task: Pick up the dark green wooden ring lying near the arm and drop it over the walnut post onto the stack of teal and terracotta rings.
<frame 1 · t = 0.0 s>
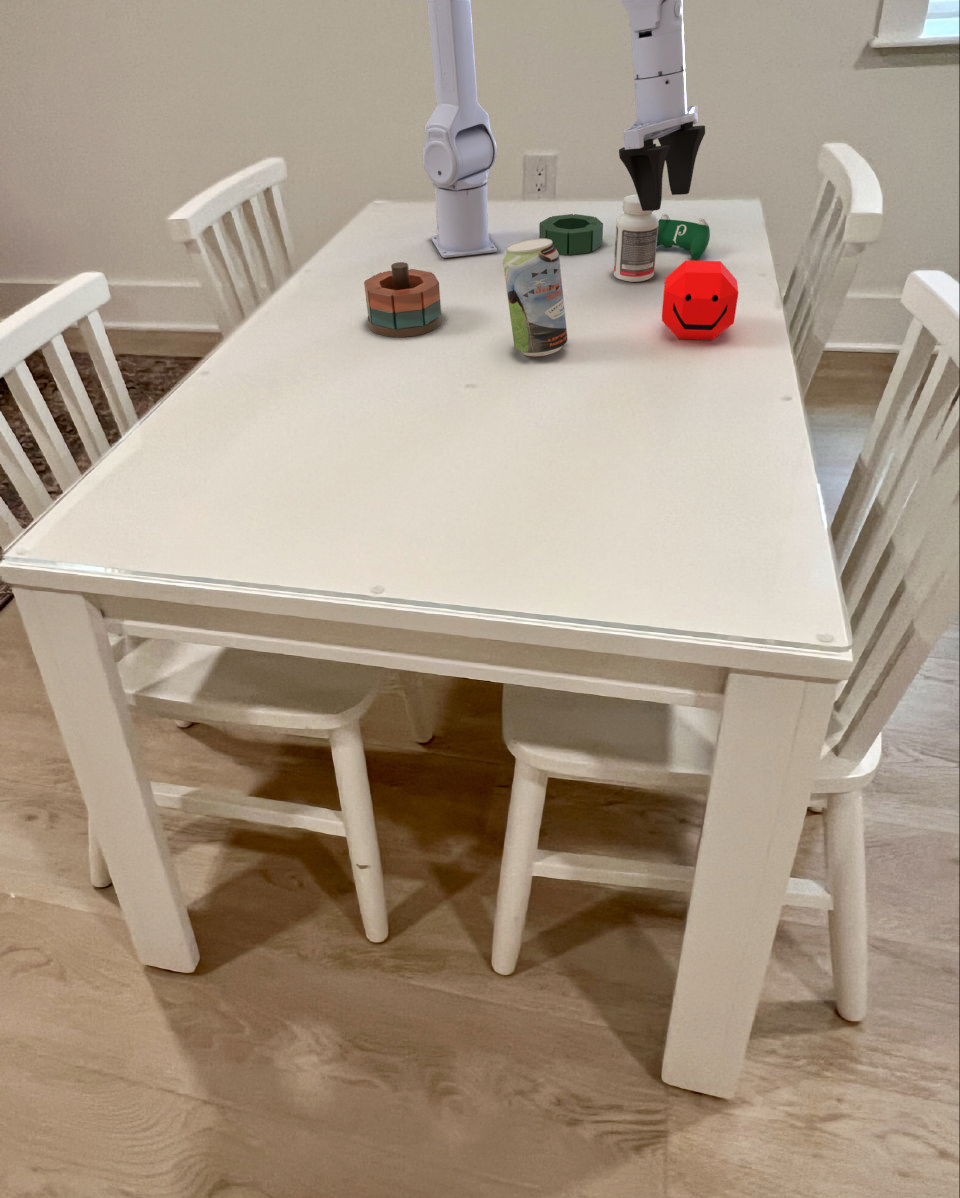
hand: (666, 201, 108), 11 cm above the table, tool pointing down, fingers open, 7 cm apart
beverage can: (536, 352, 101), on the table
ball: (695, 334, 104), on the table
gaming controller: (675, 253, 125), on the table
ring stack: (405, 322, 109), on the table
pill bottle: (633, 277, 119), on the table
green ring: (570, 244, 129), on the table
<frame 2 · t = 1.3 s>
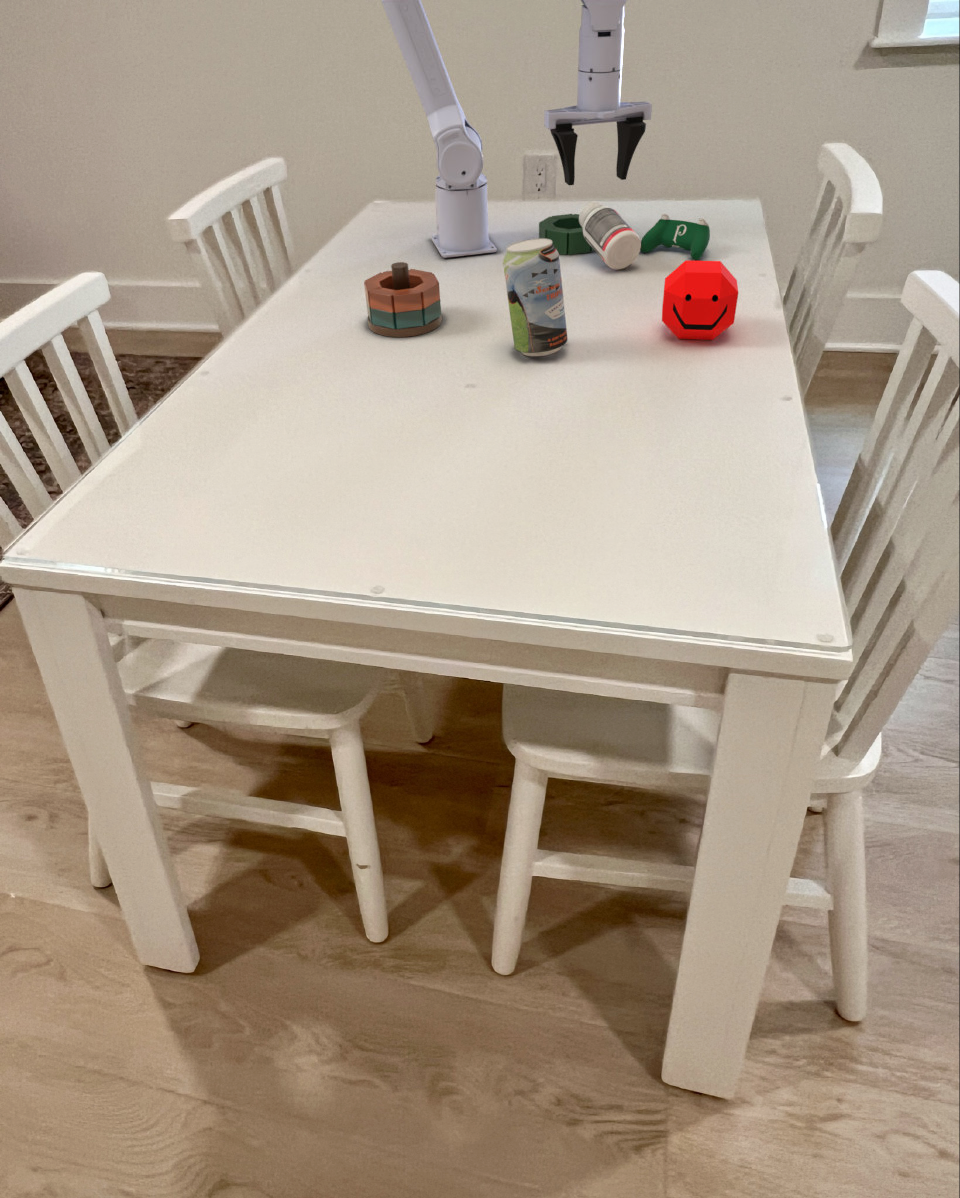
hand: (595, 180, 125), 8 cm above the table, tool pointing down, fingers open, 7 cm apart
pill bottle: (625, 253, 118), point 2 cm above the table, touching green ring
green ring: (570, 244, 129), on the table, touching pill bottle
everything else where it was.
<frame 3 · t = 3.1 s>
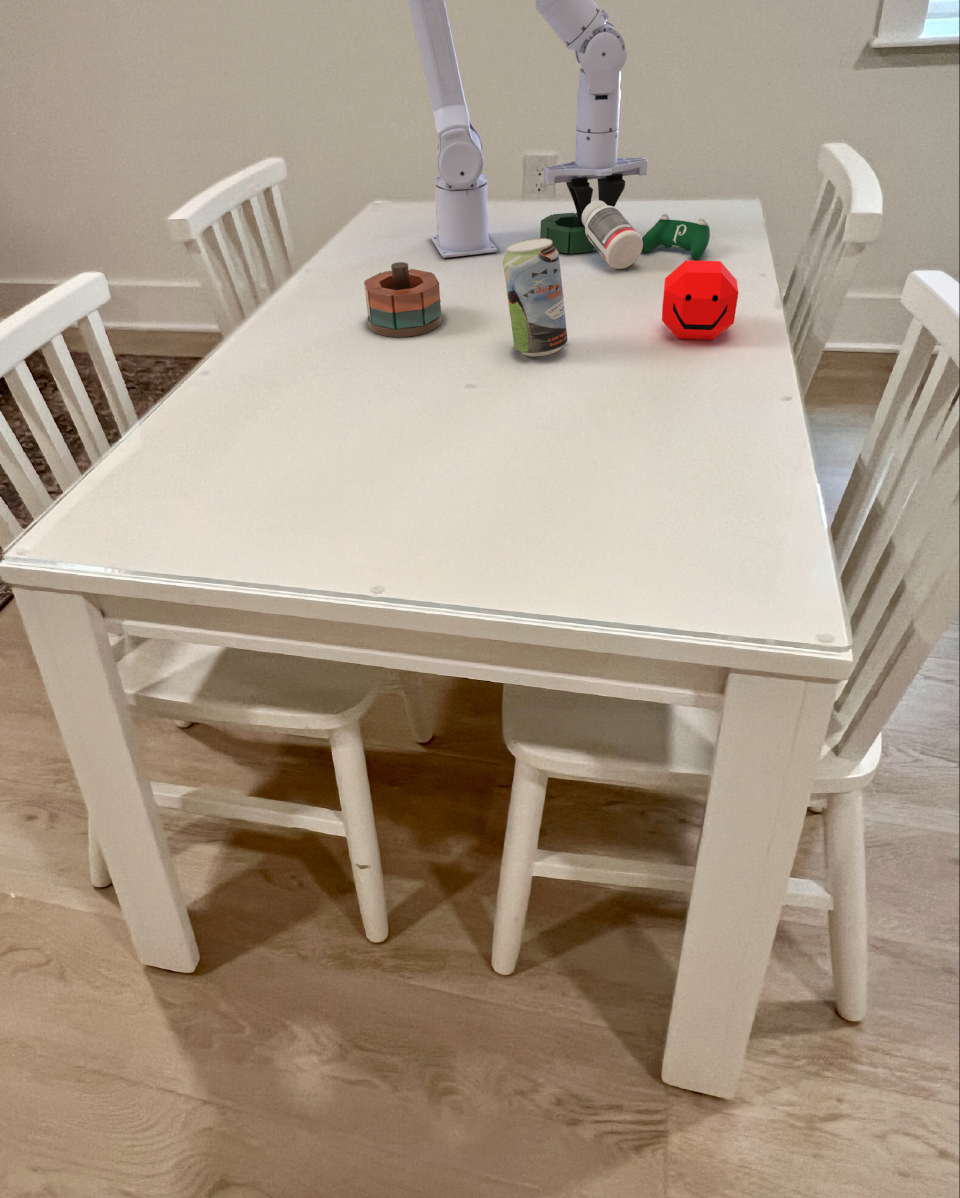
hand: (593, 232, 129), 1 cm above the table, tool pointing down, fingers closed on green ring, 2 cm apart
green ring: (571, 243, 129), on the table, touching gripper, pill bottle
everything else where it was.
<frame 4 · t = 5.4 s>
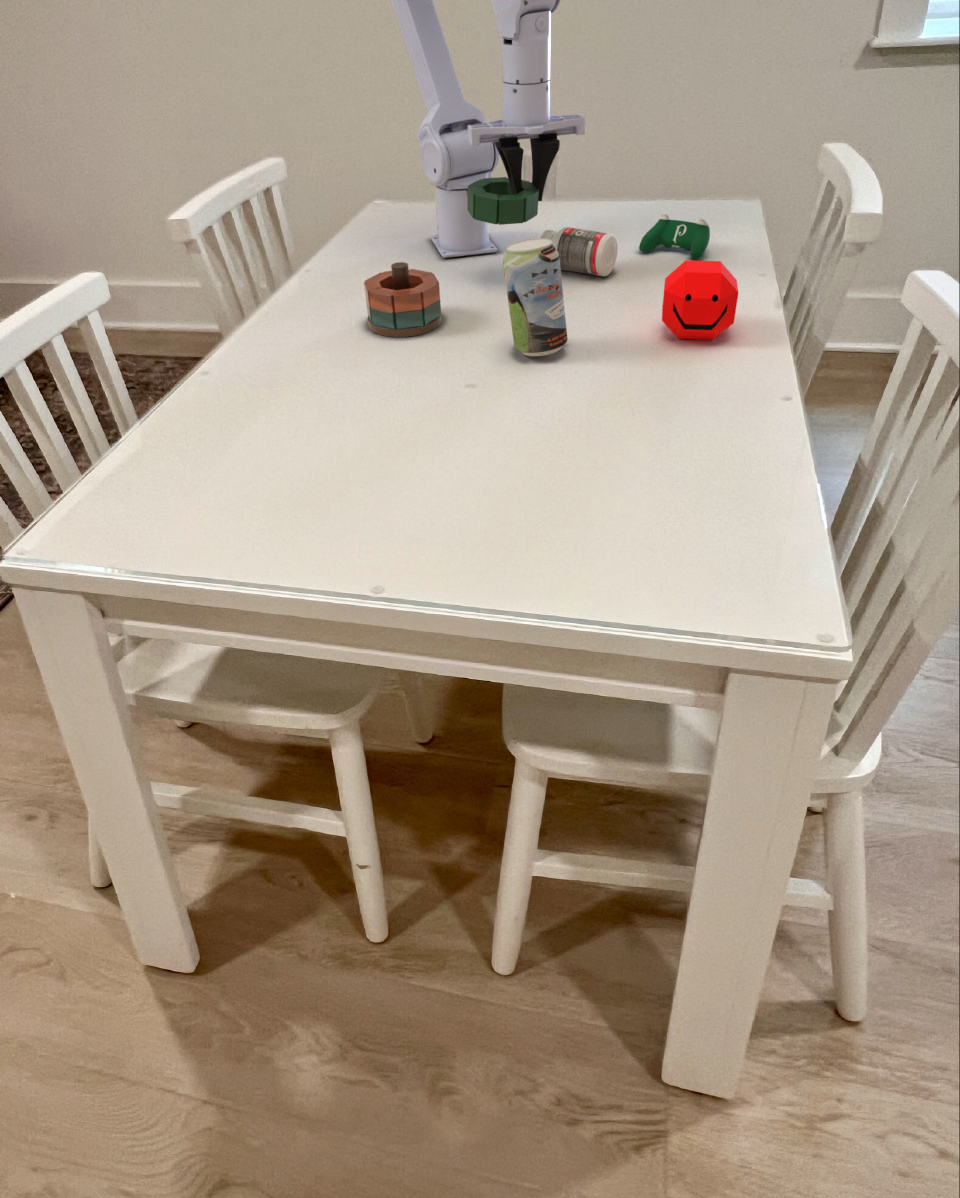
hand: (526, 200, 115), 9 cm above the table, tool pointing down, fingers closed on green ring
pill bottle: (611, 255, 117), point 3 cm above the table
green ring: (502, 212, 115), point 8 cm above the table, touching gripper
everything else where it was.
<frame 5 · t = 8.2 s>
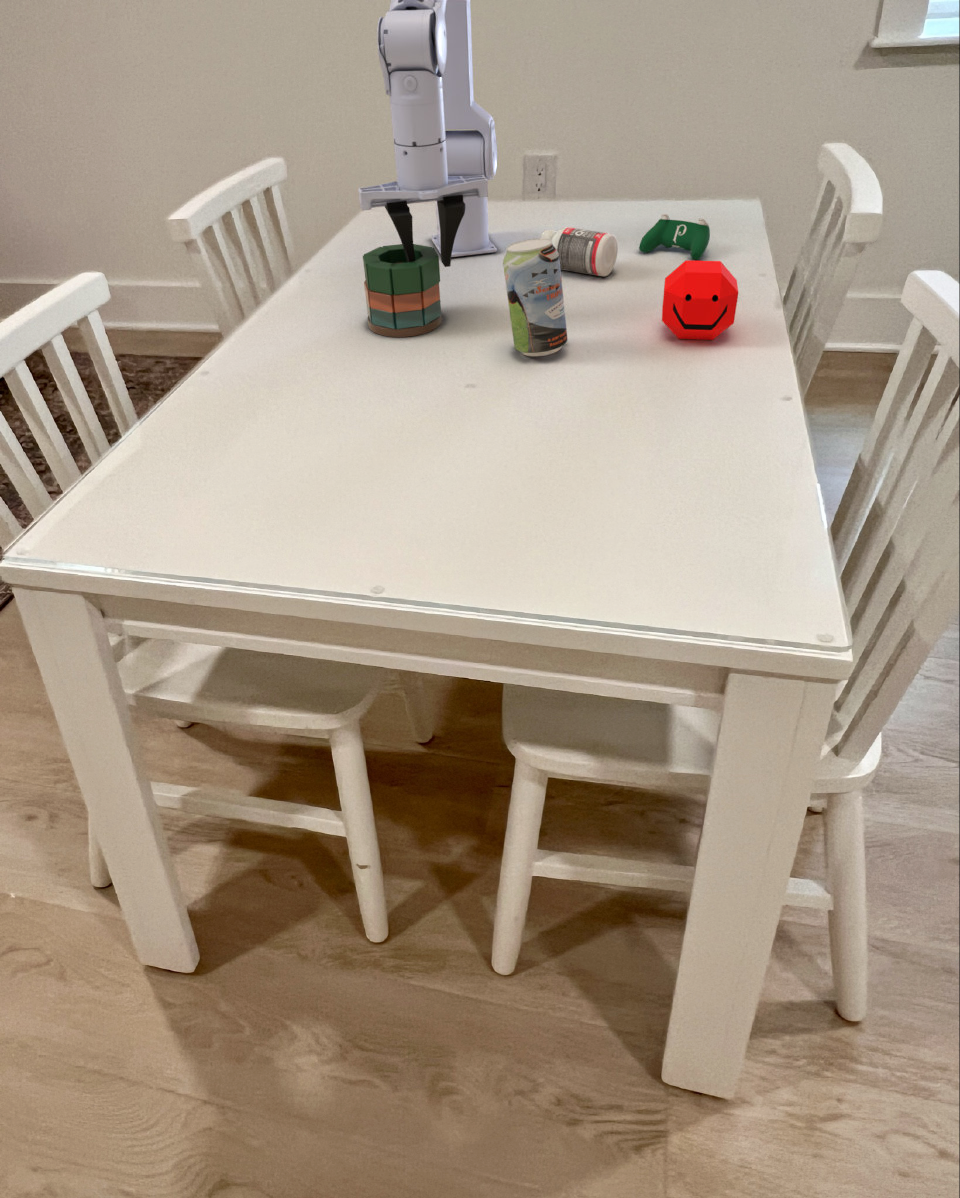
hand: (429, 266, 106), 6 cm above the table, tool pointing down, fingers open, 3 cm apart
green ring: (402, 281, 106), point 5 cm above the table, touching ring stack
everything else where it was.
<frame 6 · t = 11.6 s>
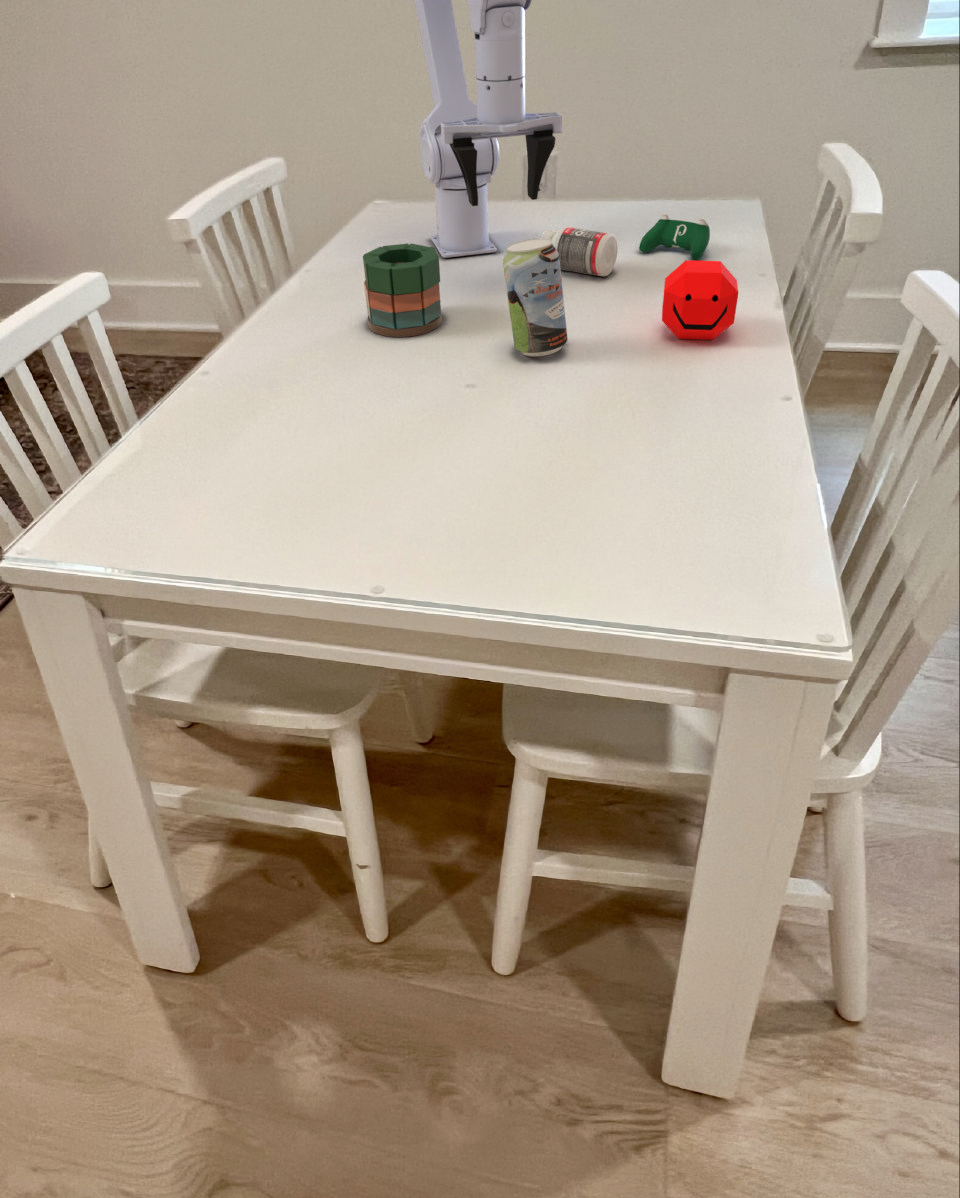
hand: (503, 200, 112), 10 cm above the table, tool pointing down, fingers open, 7 cm apart
nothing on the table moved.
at the end: green ring 0.2 cm off-centre on the ring stack, point 5.0 cm above the ring stack's base; green ring tilted 0°; the gripper is holding nothing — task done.
